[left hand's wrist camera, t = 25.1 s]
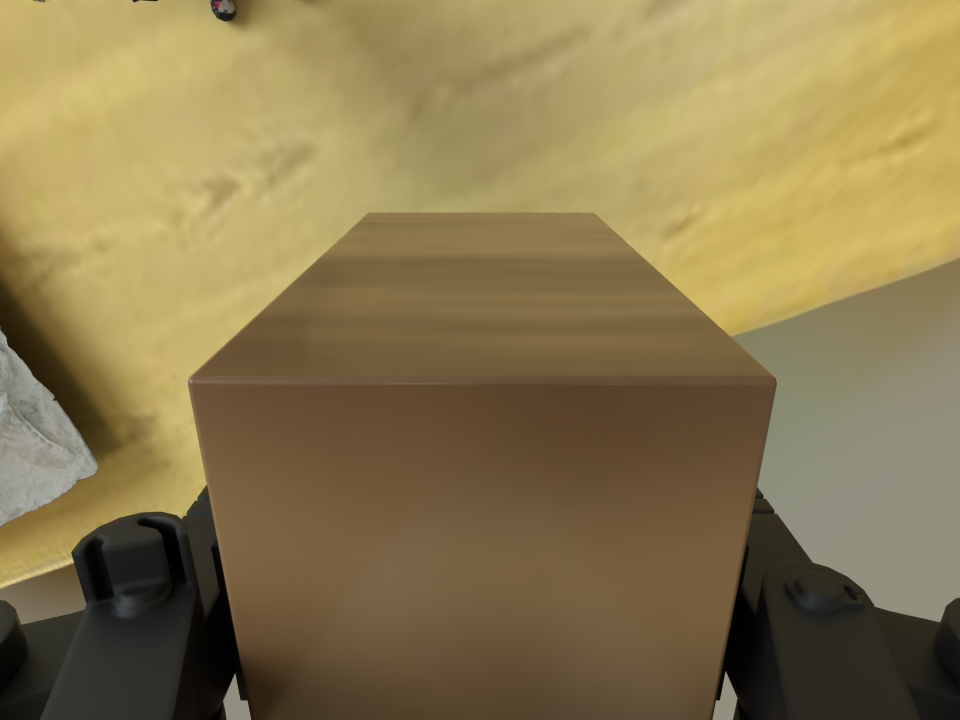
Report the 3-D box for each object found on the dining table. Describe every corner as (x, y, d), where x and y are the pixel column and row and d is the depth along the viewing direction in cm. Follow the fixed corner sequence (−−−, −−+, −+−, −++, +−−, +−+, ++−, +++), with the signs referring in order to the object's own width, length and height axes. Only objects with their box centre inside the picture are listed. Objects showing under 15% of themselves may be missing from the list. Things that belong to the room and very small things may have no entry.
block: (367, 212, 15) (183, 378, 6) (595, 212, 15) (781, 378, 6) (387, 522, 18) (292, 948, 9) (574, 522, 18) (670, 948, 9)
